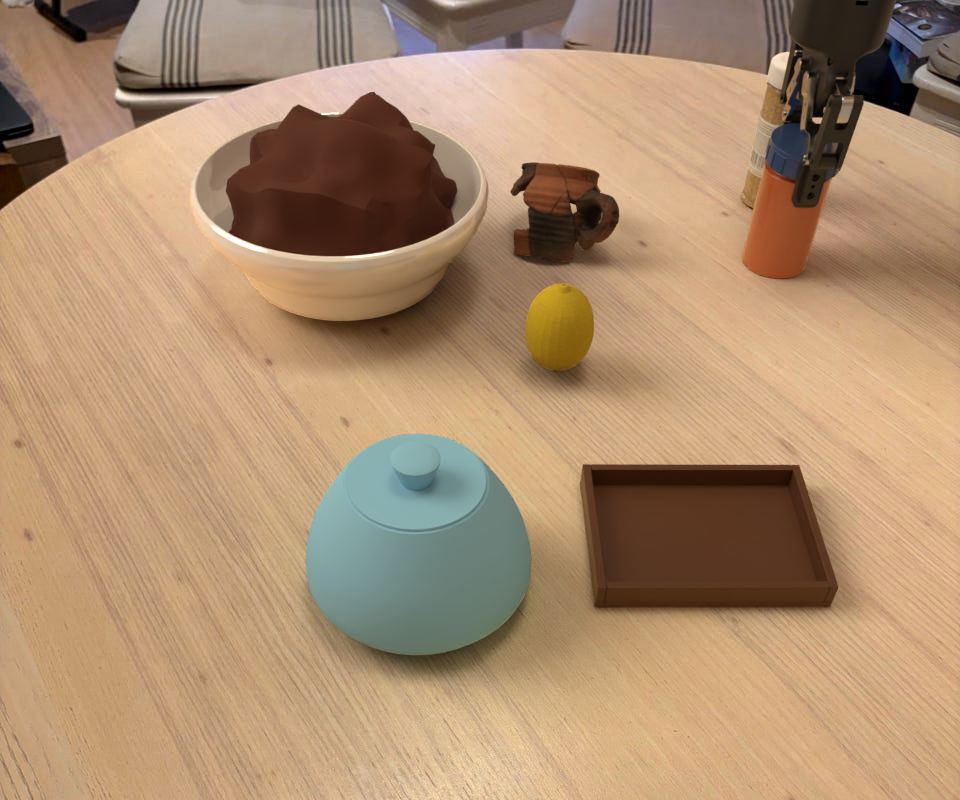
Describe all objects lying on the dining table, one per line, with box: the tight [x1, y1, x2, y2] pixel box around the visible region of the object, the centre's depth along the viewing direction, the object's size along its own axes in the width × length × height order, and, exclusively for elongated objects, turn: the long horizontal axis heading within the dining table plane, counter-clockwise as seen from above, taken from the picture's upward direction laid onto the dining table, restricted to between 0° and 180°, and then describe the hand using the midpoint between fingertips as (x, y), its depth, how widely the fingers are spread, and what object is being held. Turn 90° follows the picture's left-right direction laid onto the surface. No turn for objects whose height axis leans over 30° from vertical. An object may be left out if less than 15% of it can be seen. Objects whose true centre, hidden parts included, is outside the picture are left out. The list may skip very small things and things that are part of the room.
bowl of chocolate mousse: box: [189, 91, 489, 322], centre depth 87 cm, size 25×25×15 cm
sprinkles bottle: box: [740, 51, 790, 209], centre depth 98 cm, size 5×5×13 cm
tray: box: [579, 463, 840, 608], centre depth 72 cm, size 16×12×2 cm
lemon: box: [524, 282, 595, 372], centre depth 82 cm, size 6×6×8 cm
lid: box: [765, 123, 842, 180], centre depth 88 cm, size 6×6×2 cm
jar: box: [741, 161, 833, 279], centre depth 92 cm, size 6×6×11 cm
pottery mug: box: [510, 161, 620, 263], centre depth 96 cm, size 12×10×8 cm
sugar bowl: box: [305, 433, 532, 656], centre depth 66 cm, size 15×15×12 cm
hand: (794, 184), depth 91 cm, fingers closed on lid, 6 cm apart
